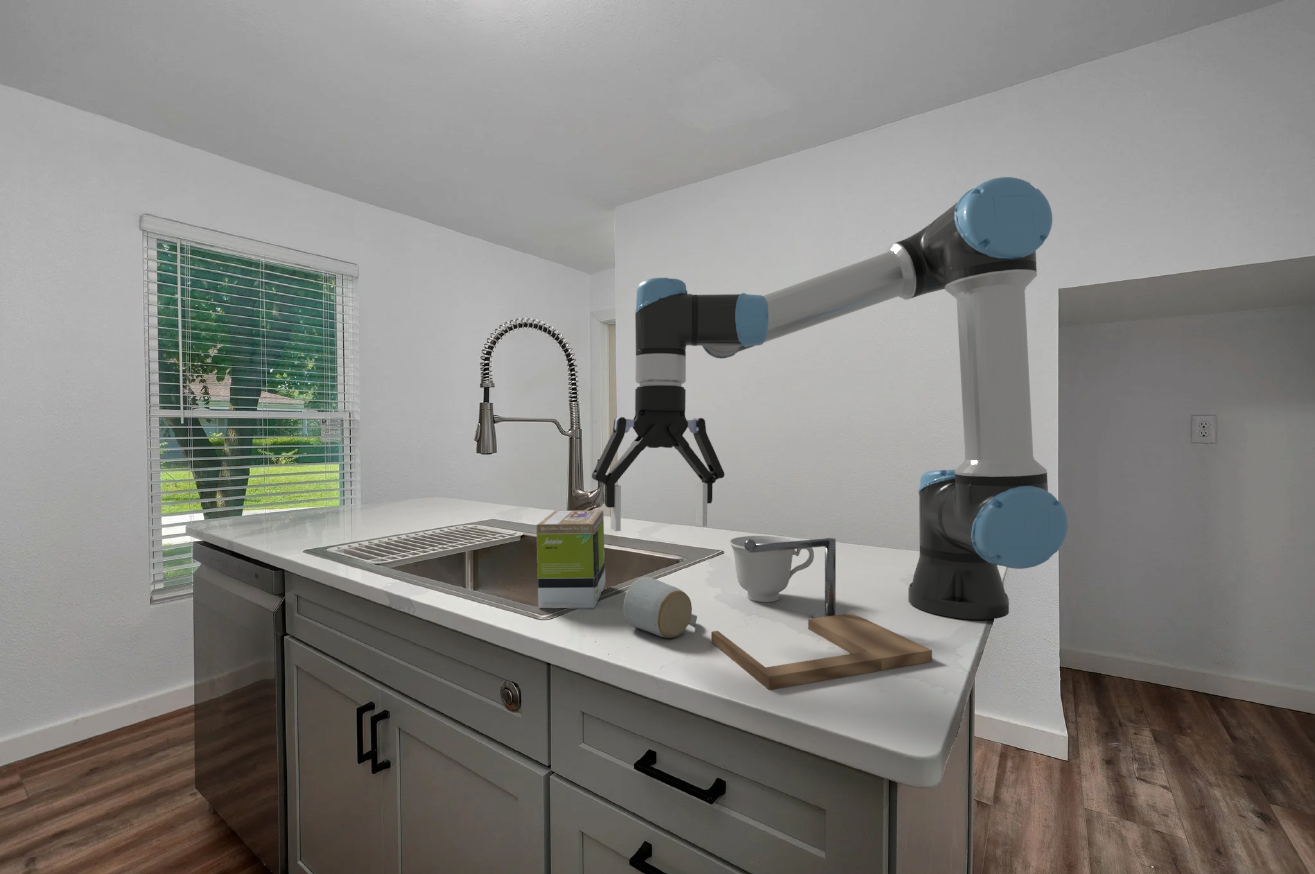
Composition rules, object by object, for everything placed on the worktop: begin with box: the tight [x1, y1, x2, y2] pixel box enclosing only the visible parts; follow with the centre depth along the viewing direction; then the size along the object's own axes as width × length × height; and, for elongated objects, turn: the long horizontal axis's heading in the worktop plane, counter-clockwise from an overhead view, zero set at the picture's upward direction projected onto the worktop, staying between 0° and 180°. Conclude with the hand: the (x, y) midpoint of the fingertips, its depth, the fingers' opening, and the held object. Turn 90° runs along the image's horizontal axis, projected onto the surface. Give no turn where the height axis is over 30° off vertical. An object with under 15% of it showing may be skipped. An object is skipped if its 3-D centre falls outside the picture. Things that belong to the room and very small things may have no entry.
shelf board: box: [710, 612, 933, 691], centre depth 79 cm, size 24×16×2 cm, turn 109°
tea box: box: [536, 510, 606, 610], centre depth 106 cm, size 15×10×15 cm, turn 178°
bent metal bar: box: [744, 537, 837, 619], centre depth 89 cm, size 17×4×14 cm, turn 109°
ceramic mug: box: [623, 576, 698, 639], centre depth 88 cm, size 11×8×8 cm
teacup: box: [728, 535, 815, 603], centre depth 104 cm, size 12×15×10 cm
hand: (659, 527), depth 88 cm, fingers open, 13 cm apart
